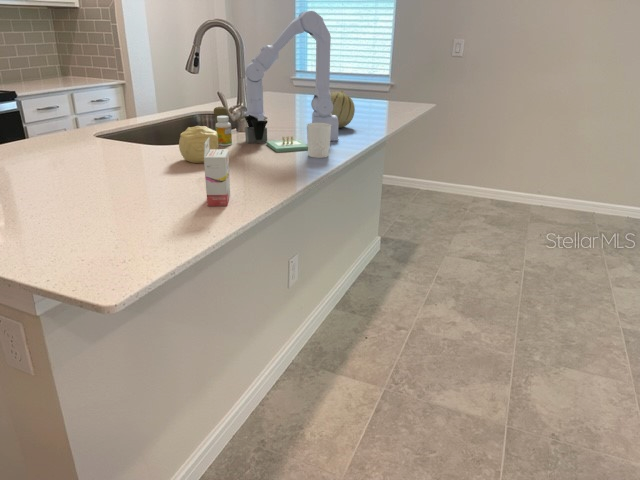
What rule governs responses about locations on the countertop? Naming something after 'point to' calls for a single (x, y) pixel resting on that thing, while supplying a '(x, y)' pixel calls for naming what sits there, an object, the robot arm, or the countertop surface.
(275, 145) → the board
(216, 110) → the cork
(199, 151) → the pale yellow rounded piece
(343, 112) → the ribbed yellow gourd
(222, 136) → the supplement bottle
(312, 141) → the white cup
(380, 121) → the countertop surface
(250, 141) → the block
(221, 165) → the ink cartridge box
